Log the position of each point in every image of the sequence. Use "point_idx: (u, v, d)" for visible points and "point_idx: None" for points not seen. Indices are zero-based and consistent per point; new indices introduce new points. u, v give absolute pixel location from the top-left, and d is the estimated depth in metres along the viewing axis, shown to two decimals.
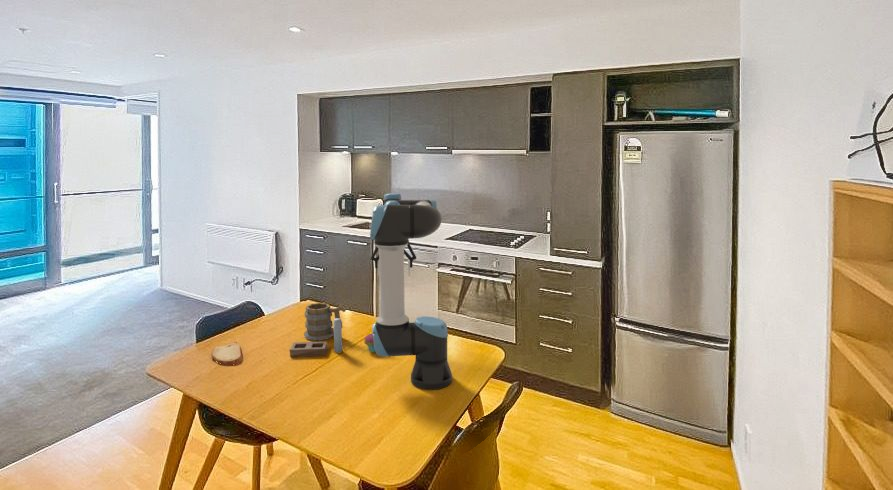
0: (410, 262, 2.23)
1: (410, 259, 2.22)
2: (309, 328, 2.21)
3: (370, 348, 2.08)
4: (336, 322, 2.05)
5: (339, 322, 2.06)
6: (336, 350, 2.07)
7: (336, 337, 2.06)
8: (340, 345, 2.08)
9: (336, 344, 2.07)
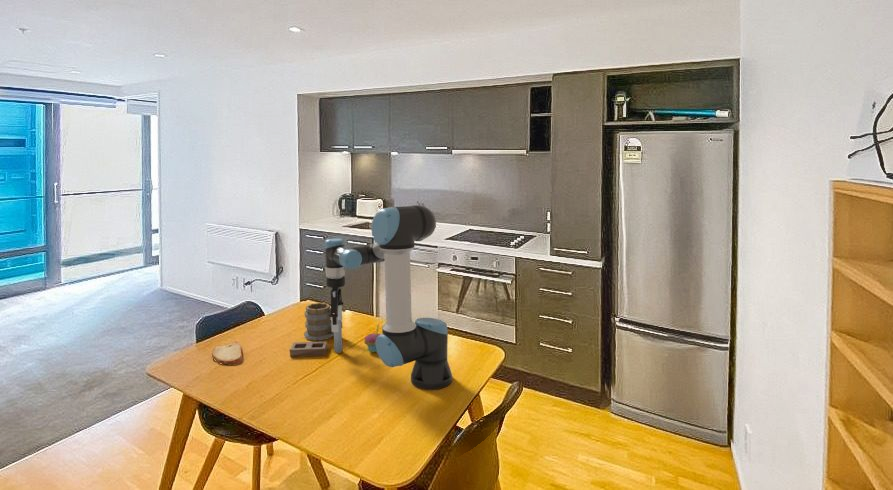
0: (332, 318, 1.99)
1: None
2: (309, 328, 2.21)
3: (370, 348, 2.08)
4: None
5: (339, 322, 2.06)
6: (336, 350, 2.07)
7: (336, 337, 2.06)
8: (340, 345, 2.08)
9: (336, 344, 2.07)
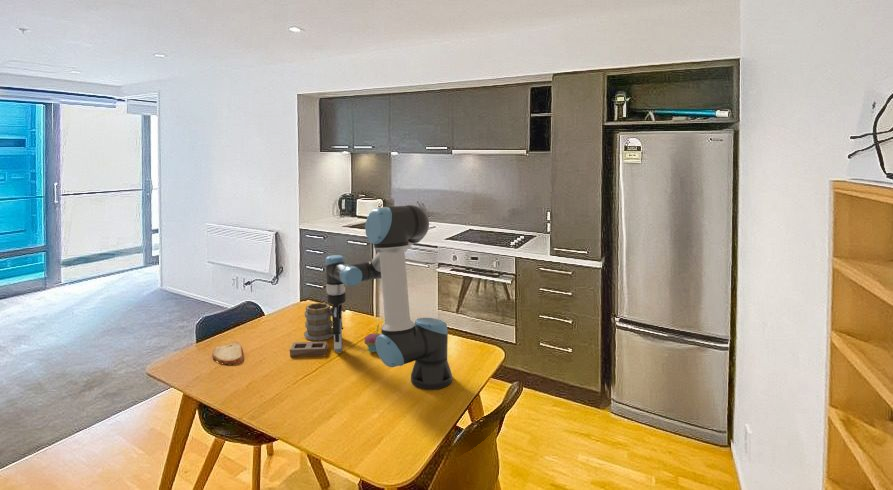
0: None
1: None
2: (309, 328, 2.21)
3: (370, 348, 2.08)
4: None
5: None
6: (336, 350, 2.07)
7: None
8: None
9: None
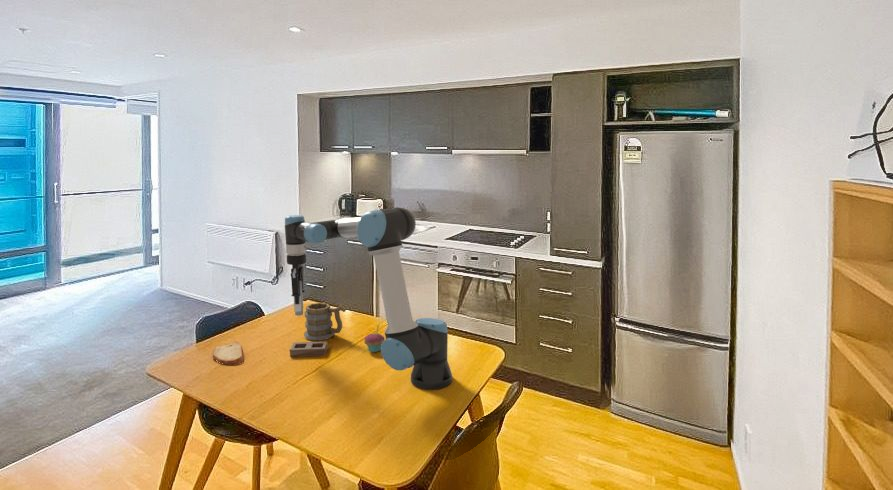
0: None
1: None
2: (309, 328, 2.21)
3: (370, 348, 2.08)
4: None
5: None
6: (296, 313, 2.03)
7: None
8: None
9: None
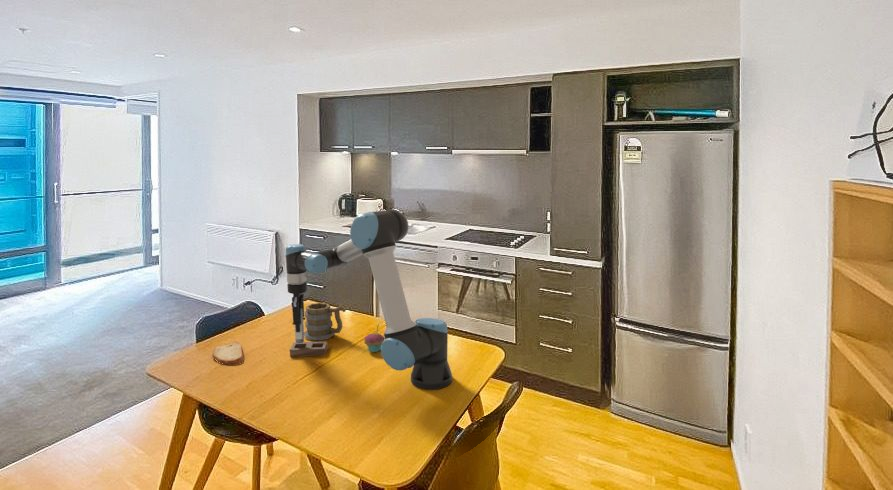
0: None
1: None
2: (309, 328, 2.21)
3: (370, 348, 2.08)
4: None
5: None
6: (297, 340, 2.05)
7: None
8: None
9: None
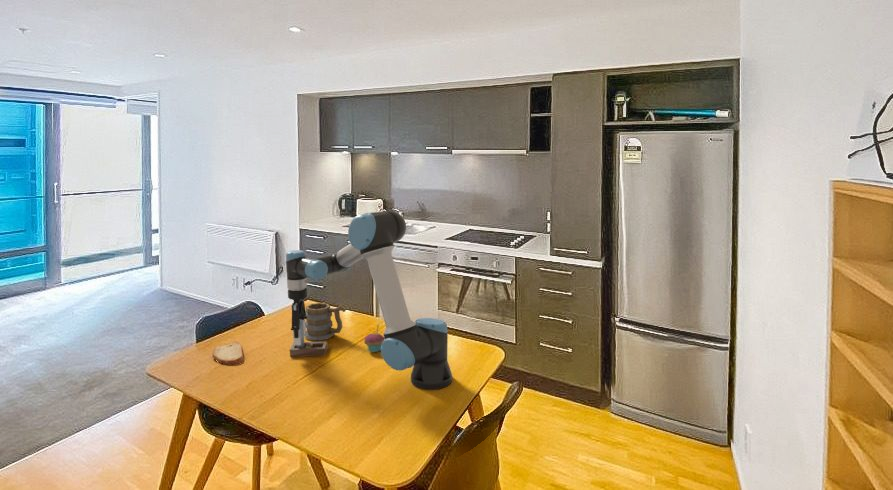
0: None
1: None
2: (309, 328, 2.21)
3: (370, 348, 2.08)
4: None
5: (301, 323, 2.04)
6: None
7: None
8: (302, 346, 2.06)
9: (298, 345, 2.05)
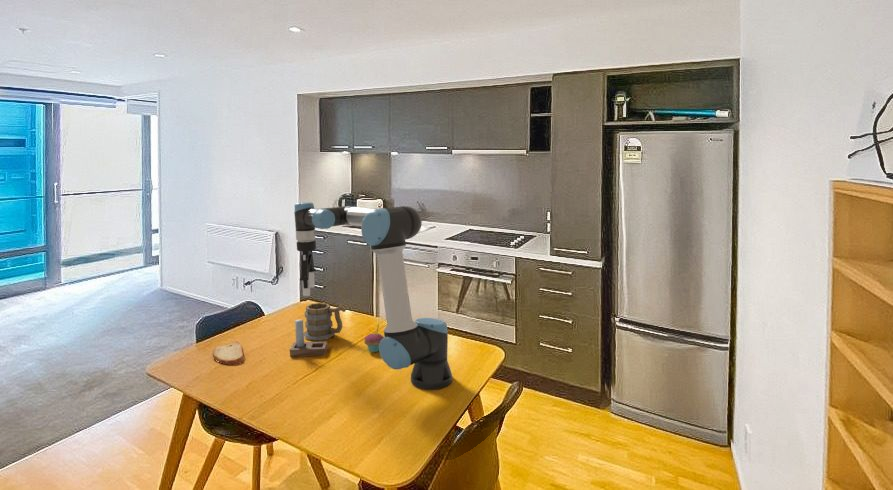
0: None
1: None
2: (309, 328, 2.21)
3: (370, 348, 2.08)
4: (298, 323, 2.04)
5: (301, 323, 2.04)
6: None
7: (298, 338, 2.05)
8: (302, 346, 2.06)
9: (298, 345, 2.05)
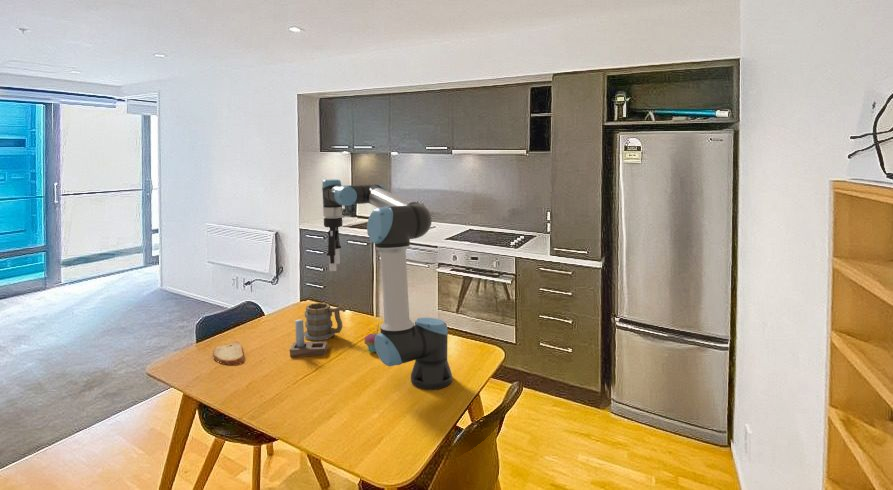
0: None
1: None
2: (309, 328, 2.21)
3: (370, 348, 2.08)
4: (298, 323, 2.04)
5: (301, 323, 2.04)
6: None
7: (298, 338, 2.05)
8: (302, 346, 2.06)
9: (298, 345, 2.05)
